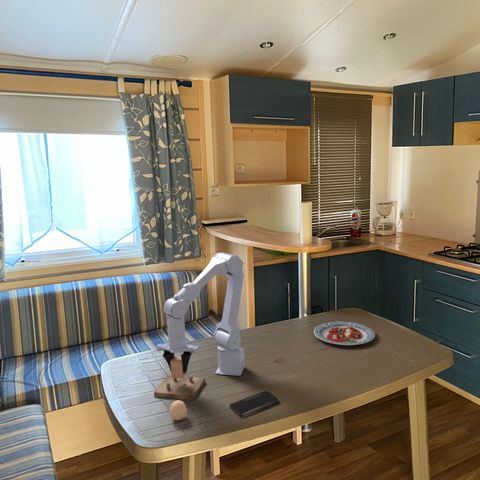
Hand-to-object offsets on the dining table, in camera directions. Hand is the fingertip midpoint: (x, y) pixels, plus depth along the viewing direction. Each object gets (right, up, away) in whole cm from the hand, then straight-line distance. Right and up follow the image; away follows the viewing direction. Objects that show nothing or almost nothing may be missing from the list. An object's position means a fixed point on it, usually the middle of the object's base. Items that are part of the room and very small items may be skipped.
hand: (179, 371), depth 148 cm
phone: (+26, -8, -10) cm, 29 cm away
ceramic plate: (+66, +3, +40) cm, 77 cm away
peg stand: (0, -6, +1) cm, 6 cm away
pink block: (0, -1, 0) cm, 1 cm away
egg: (+2, -10, -16) cm, 19 cm away
